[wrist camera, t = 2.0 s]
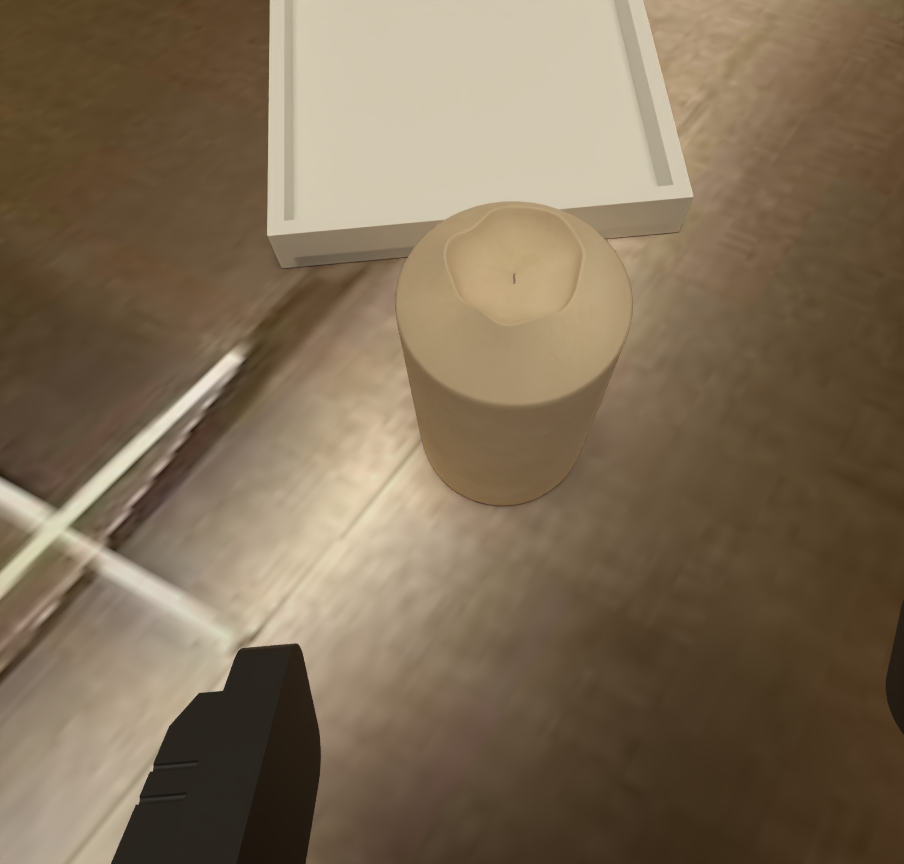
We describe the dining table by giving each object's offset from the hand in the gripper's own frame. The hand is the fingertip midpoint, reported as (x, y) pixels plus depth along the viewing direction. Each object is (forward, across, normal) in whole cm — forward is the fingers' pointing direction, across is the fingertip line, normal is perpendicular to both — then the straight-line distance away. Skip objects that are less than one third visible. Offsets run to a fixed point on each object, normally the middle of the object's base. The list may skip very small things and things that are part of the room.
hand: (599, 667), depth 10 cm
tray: (+27, 0, -9) cm, 28 cm away
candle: (+15, 0, +3) cm, 15 cm away
